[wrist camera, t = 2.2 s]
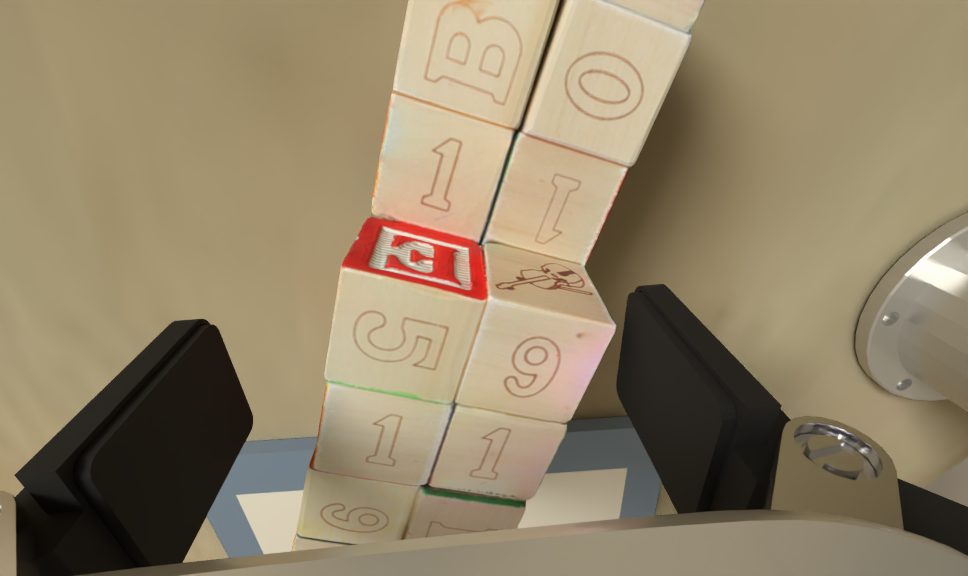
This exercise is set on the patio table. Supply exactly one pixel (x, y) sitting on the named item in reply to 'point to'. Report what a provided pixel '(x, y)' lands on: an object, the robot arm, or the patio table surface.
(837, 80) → the patio table surface
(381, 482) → the stack of blocks
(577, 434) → the board
